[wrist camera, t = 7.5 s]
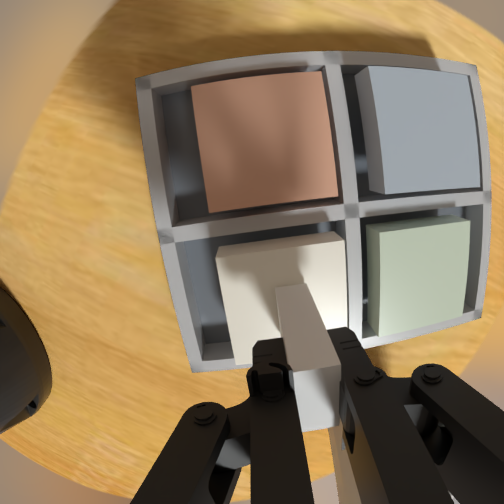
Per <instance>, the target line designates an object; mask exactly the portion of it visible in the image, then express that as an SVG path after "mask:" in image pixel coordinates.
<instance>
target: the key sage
mask: <svg viewBox="0 0 504 504" xmlns="http://www.w3.org/2000/svg"><path fill="white" fill-rule="evenodd" d="M366 241H367V278H368V309H367V322H368V323H369V324H370V326H371V327H372V329H373V330H374V332H375V333H376V334H377V336H378V337H383V336H387V335H391V334H396V333H400V332H404V331H408V330H412V329H416V328H420V327H424V326H428V325H432V324H436V323H439V322H443V321H446V320H450V319H454V318H457V317H460V316H462V314H463V307H464V299H465V291H466V282H467V272H468V260H469V244H470V220H467V219H464V218H461V217H458V216H455V215H452V214H450V215H441V216H433V217H425V218H416V219H408V220H400V221H392V222H384V223H376V224H368V225H366Z"/></svg>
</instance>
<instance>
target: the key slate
mask: <svg viewBox="0 0 504 504" xmlns="http://www.w3.org/2000/svg"><path fill="white" fill-rule="evenodd" d="M354 77H355V82H356V88H357V93H358V99H359V106H360V112H361V119H362V126H363V133H364V141H365V149H366V158H367V168H368V178H369V190H370V191H374V192H378V193H382V194H395V193H407V192H418V191H430V190H443V189H457V188H472V187H480V170H479V155H478V143H477V134H476V125H475V118H474V111H473V104H472V98H471V93H470V87H469V82H468V77H467V75H461V74H455V73H448V72H440V71H432V70H424V69H414V68H402V67H386V66H367V67H366V68H364V69H363V70H362V71H360V72H359V73H358V74H356V75H355V76H354Z"/></svg>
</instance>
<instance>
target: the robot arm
mask: <svg viewBox="0 0 504 504" xmlns="http://www.w3.org/2000/svg"><path fill="white" fill-rule="evenodd" d="M275 294H276V302H277V310H278V319H279V327H280V336H281V338H273V339H266V340H258V341H257V342H256V343H255V345H254V346H253V348H252V357H253V358H252V363H253V365H252V367H251V368H250V369H249V370H248V372H247V375H246V378H247V383H248V388H249V393H250V397H249V398H248V399H247V400H246V401H244V402H242V403H241V404H239V405H236V406H234V407H230V408H227V409H225V407H223V406H222V405H220V404H218V403H214V402H202V403H199V404H195V405H194V406H192V407H190V408H188V410H187V411H186V412H185V413H184V414H183V416H182V418H181V419H180V421H179V423H178V424H177V426H176V428H175V430H174V431H173V433H172V435H171V436H170V438H169V440H168V441H167V443H166V445H165V446H164V448H163V450H162V451H161V453H160V455H159V456H158V458H157V460H156V461H155V463H154V465H153V466H152V468H151V470H150V471H149V473H148V475H147V476H146V478H145V480H144V481H143V483H142V485H141V486H140V488H139V490H138V491H137V493H136V494H135V496H134V498H133V499H132V501H131V503H130V504H229V503H230V500H231V497H232V495H233V492H234V489H235V486H236V484H237V481H238V478H239V475H240V472H241V468H242V467H243V466H246V465H249V464H251V504H314V498H313V493H312V487H311V481H310V475H309V469H308V463H307V457H306V452H305V446H304V440H303V434H302V432H307V431H313V430H319V429H325V428H330V427H335V426H339V424H340V418H341V422H342V425H343V431H342V445H341V450H345V447H346V451H347V454H348V457H349V461H350V464H351V468H352V471H353V475H354V478H355V482H356V486H357V489H358V493H359V496H360V500H361V504H454V502H453V500H452V498H451V496H450V494H449V492H450V493H451V494H452V495H453V496H454V497H455V498H456V500H457V501H458V502H459V503H460V504H504V411H502V410H501V409H500V408H499V407H497V406H496V405H495V404H493V403H492V402H491V401H489V400H488V399H487V398H486V397H484V396H483V395H482V394H480V393H479V392H478V391H476V390H475V389H474V388H472V387H471V386H470V385H468V384H467V383H466V382H464V381H463V380H462V379H460V378H459V377H458V376H456V375H455V374H454V373H452V372H451V371H450V370H448V369H447V368H445V367H443V366H442V365H438V364H424V365H421V366H419V367H417V368H416V369H415V370H414V371H413V373H412V376H411V377H408V378H393V377H388V376H387V375H386V373H385V372H384V371H383V370H382V369H380V368H377V367H374V366H373V365H372V363H371V361H370V359H369V357H368V356H367V354H366V352H365V350H364V348H363V347H362V345H361V343H360V341H358V338H357V336H356V334H355V332H354V331H352V330H350V329H349V328H347V327H346V326H345V327H340V328H334V329H328V330H326V327H325V325H324V323H323V320H322V318H321V316H320V313H319V311H318V309H317V306H316V304H315V302H314V300H313V297H312V295H311V293H310V290H309V288H308V286H307V284H306V283H304V284H297V285H290V286H283V287H275ZM51 388H52V374H51V368H50V364H49V361H48V357H47V355H46V352H45V349H44V347H43V345H42V343H41V341H40V339H39V337H38V335H37V333H36V331H35V329H34V328H33V326H32V324H31V323H30V321H29V320H28V318H27V317H26V315H25V314H24V313H23V311H22V310H21V309H20V307H19V306H18V305H17V304H16V303H15V301H14V300H13V299H12V298H11V297H10V296H9V295H8V294H7V293H6V292H5V291H4V290H3V289H2V288H0V434H1V433H3V432H5V431H6V430H8V429H10V428H12V427H13V426H15V425H17V424H19V423H20V422H22V421H24V420H25V419H27V418H29V417H31V416H32V415H34V414H35V413H36V412H37V411H38V410H39V409H40V408H41V406H42V405H43V404H44V402H45V401H46V399H47V398H48V396H49V395H50V392H51Z"/></svg>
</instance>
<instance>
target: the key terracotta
mask: <svg viewBox="0 0 504 504" xmlns="http://www.w3.org/2000/svg"><path fill="white" fill-rule="evenodd" d="M191 92H192V100H193V107H194V115H195V122H196V129H197V136H198V143H199V150H200V157H201V164H202V170H203V177H204V183H205V190H206V196H207V202H208V209H209V213H213V212H220V211H227V210H234V209H241V208H248V207H255V206H262V205H270V204H278V203H285V202H293V201H302V200H310V199H318V198H327V197H336V196H338V188H337V178H336V169H335V160H334V152H333V144H332V136H331V129H330V122H329V115H328V109H327V102H326V96H325V90H324V84H323V78H322V73H321V71H316V72H297V73H283V74H272V75H262V76H253V77H245V78H238V79H230V80H224V81H217V82H211V83H206V84H200V85H195V86H191Z"/></svg>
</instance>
